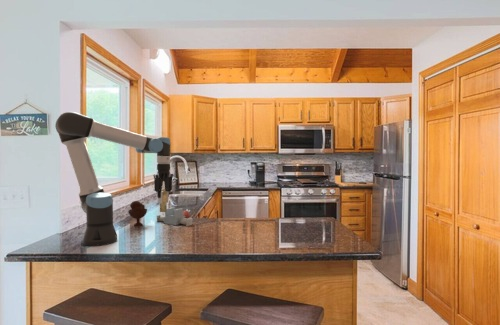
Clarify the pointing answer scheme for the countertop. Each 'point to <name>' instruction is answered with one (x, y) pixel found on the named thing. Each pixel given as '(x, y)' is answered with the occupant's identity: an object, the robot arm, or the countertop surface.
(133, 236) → the countertop surface
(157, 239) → the countertop surface
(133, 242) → the countertop surface
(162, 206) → the brass nipple
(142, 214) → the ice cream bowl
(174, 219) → the valve
